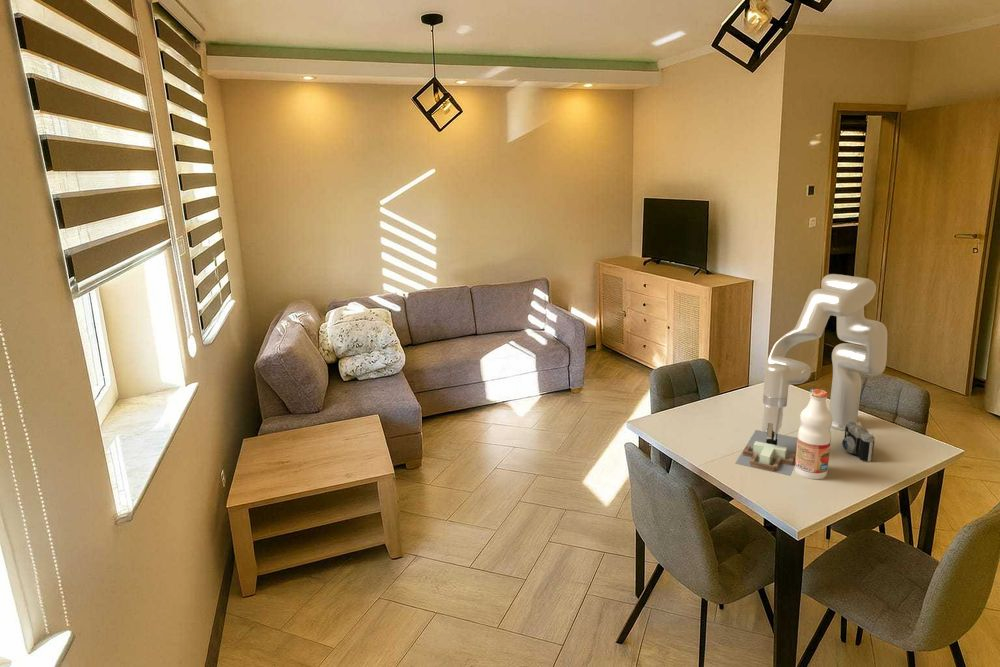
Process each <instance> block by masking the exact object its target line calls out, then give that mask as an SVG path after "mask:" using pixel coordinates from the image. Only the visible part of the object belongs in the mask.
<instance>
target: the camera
mask: <svg viewBox="0 0 1000 667" xmlns="http://www.w3.org/2000/svg"><path fill="white" fill-rule="evenodd" d="M875 439H876V437H874V434H871V433H870V432H869V431H868V430H867V428H866V427H864V426H862V425H861V426H859V425H857V424H856V423H854V422H848V423H847V424H846V427H845V431H844V437H843V439H842V442H841V446H842V449H843V450H844V451H845V452H847V453H849V454H852V455H855V456H856V457H857V458H858V459H859V460H860V461H861V462H865V463H870V462H872V461H873V456H874V455H873V454H874V446H875Z"/></svg>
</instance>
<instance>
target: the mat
mask: <svg viewBox="0 0 1000 667" xmlns="http://www.w3.org/2000/svg"><path fill="white" fill-rule="evenodd" d="M797 438H798V437H797V436H796V437H795V436H789V435H784V434H779V433H778V435H777V438H776V439H777V445H778V446H783V447H787V453H786V459H789V458H790V455H791V453H792V454H795V459H796V449H797ZM766 440H767V431H766V432H765V433H762V430H758V429H755V430H754V432H753V434H752V435H751V437H750V438H749V440H748V442H747V443H746V445H745V447H744V448H743V450H742V451H741V454H740V455H739V457H738V458H737V460H736V461H735V463H734V464H735V465H739V466H744V467H749V468H753V469H757V470H761V471H766V472H770V473H776V474H779V475H784V476H789V477H791V475H792V473H793V470H794V469H795V459H794V461H793V464H792V466H790V465H786V464H781V463H780V465H779V467H778V469H777V471H776V470H775V471H774V472H773V471H768V470H764V469H759V468H755V467H751V465H750V460H751V458H752V457H748V456H743V451H744V449H745V448H746V446H747V445H751V449H750V451H751V452H753V446H754V443H755V441H757V442H763V443H766ZM759 460H760V456H758V458H757V460H756V462H759ZM775 461H776V460H774V459H773V461H772V463H771V464H770V465H774V463H775Z"/></svg>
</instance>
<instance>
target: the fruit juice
mask: <svg viewBox="0 0 1000 667" xmlns="http://www.w3.org/2000/svg"><path fill="white" fill-rule="evenodd" d="M809 398H810V399H809V401H808V404H807V405H806V407H805V408H803V409H802V411H801V412H800V415H799V420H800V426H799V428H798V430H797V431H798V432H797V437H796V438H797V449H796V459H795V466H794V471H795V474H797V475H798V476H800V477H802V478H805V479H808V480H822V479H825V478H826V477H827V476H828V470H829V460H830V452H831V451H830V450H831V442H832V432H831V424H832V415H831V413H830V412H829V409H828V407H827V402H826V400H827V399H828V392H827V391H826V390H823V389H818V388H815V389H814V388H812V389H810V391H809Z"/></svg>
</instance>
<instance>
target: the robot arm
mask: <svg viewBox="0 0 1000 667" xmlns="http://www.w3.org/2000/svg"><path fill="white" fill-rule="evenodd" d="M820 285H821V288H816V289H813V290H812V291H811V292H810V293H809V294H808V297H807V299H806V301H805V304H804V305H803V308H802V311H801V314H800V315H799V318H798V320H797V322H796V324H795V326H794V328H793V329H791V330H790V331H788V332H786V333H785V334H784V335H783V336H781V337H780V338H779V339H778V340H777V341H776V342H775V343H774V344H773V346H772V348H771V351H770V353H769V354H768V356H767V361H766V364H765V367H764V381H763V393H762V404H763V405H764V409H763V416H762V425H761V431H762V433H765V432H767V440H766V443H768V444H773V445H777V439H776V438H777V435H778V434H779V431H780V429H781V428H782V424H783V416H784V408H785V407H787V406H788V397H789V395H788V394H789V386H790V385H799V384H803V383H805V382H807V381H809V379H810V378H811V375H812V369H811V367H810V366H809V364H807V363H805V362H803V361H799V360H798V359H797V360H795V359H793V358H790V357H789V358H788V357H786V354H787V352H788V351H789V350H790V349H791V348H792V347H794V346H796V345H798V344H800V343H805V342H808V341H813V340H818V339H820V338H821V337H822V335H823V333H824V331H825V328H826V326H827V324H828V321H829V319H830V317H831V316H834V317H836V335H837V338H838V339H839V340H840V341H843V343H839V344H837V345H835V347H834V348H833V350H832V352H831V362H832V364H831V365H832V379H831V380H832V381H831V382H832V383H831V389H830V390H831V391H830V399H829V409H828V411H829V412H830V413H831V415H832V424H831V427H830V429H833V430H834V429H835V430H838V431H844V432H845V427H846V424H847V423H848V422H854V423H856V424H857V425H859V426H862V422H861V421H859V420H858V418H859V409H860V399H861V394H862V393H861V390H862V385H863V384H862V383H863V382H862V378H861V375H860V374H863V375H866V376H872V377H876V376H879V375H881V374H882V373H883V372H884V371H885V369H886V366H887V359H888V357H887V356H888V329H887V327H886V325H885V324H884V323H883V322H881V321H879V320H873V319H868V318H866V317H865V306H866V305H867V304H869V303H870V302H871V301H872V300H873V298H874V297H875V295H876V291H877V285H876V283H875V281H873V280H872V279H870V278H866V277H860V276H852V275H848V274H847V275H846V274H845V275H844V274H839V273H838V274H837V273H829V274H826V275H825V276H824V277H823V278H822V280H821V284H820ZM845 342H846V343H845Z"/></svg>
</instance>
